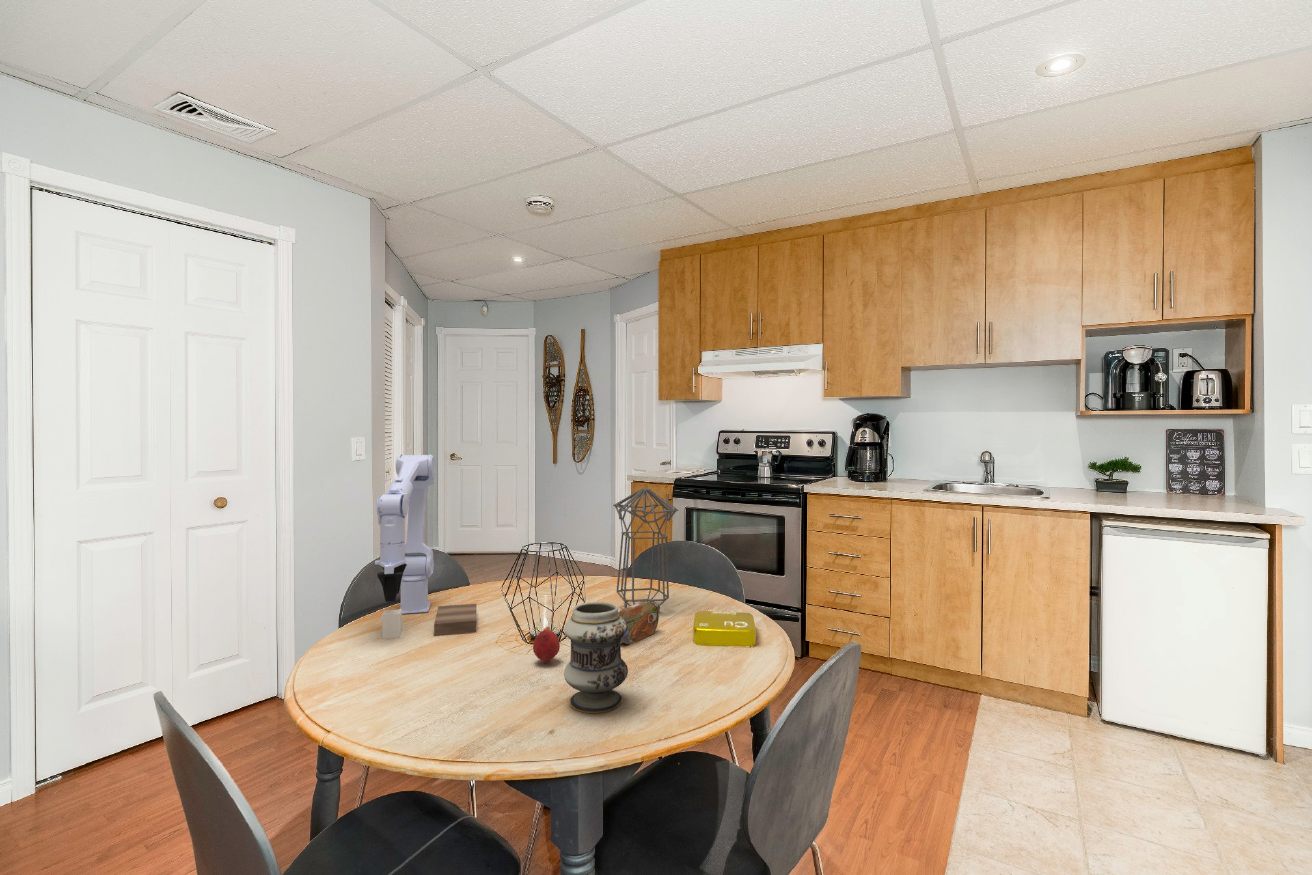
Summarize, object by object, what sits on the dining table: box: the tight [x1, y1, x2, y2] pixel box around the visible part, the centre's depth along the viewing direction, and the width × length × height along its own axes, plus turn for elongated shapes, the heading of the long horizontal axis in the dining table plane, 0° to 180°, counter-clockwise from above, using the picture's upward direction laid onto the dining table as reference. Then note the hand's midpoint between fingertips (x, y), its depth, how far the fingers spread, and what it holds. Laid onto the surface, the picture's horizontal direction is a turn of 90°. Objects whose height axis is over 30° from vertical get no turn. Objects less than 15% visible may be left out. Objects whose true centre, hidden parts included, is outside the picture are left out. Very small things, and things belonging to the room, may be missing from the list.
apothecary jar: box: [563, 601, 629, 714], centre depth 116 cm, size 12×12×18 cm
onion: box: [532, 625, 561, 664], centre depth 135 cm, size 6×6×8 cm
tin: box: [618, 601, 660, 645], centre depth 151 cm, size 15×3×8 cm, turn 143°
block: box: [381, 609, 403, 640], centre depth 152 cm, size 4×4×6 cm
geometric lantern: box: [612, 487, 679, 613], centre depth 174 cm, size 16×16×35 cm
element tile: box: [692, 610, 757, 647], centre depth 153 cm, size 15×15×5 cm
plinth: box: [433, 603, 477, 637], centre depth 161 cm, size 16×10×3 cm, turn 16°
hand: (392, 597), depth 152 cm, fingers open, 7 cm apart
